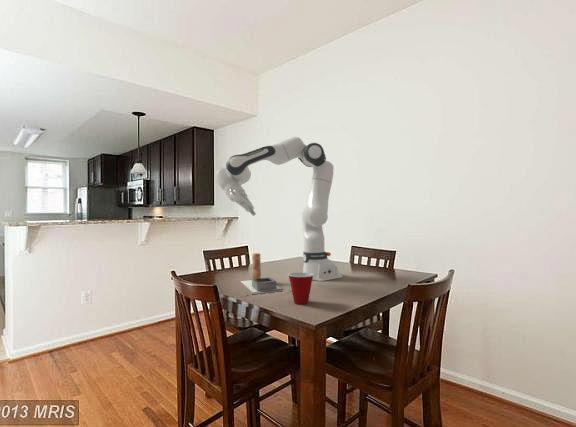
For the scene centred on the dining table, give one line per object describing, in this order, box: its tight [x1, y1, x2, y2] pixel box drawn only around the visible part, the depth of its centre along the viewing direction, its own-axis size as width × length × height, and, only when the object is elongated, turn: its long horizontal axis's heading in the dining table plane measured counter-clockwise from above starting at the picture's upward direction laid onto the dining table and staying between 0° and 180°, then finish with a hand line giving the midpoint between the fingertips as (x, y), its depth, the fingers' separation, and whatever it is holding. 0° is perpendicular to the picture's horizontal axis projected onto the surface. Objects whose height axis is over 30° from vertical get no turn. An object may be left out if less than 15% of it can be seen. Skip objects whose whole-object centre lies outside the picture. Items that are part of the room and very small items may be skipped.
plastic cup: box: [287, 271, 314, 305], centre depth 134 cm, size 11×11×12 cm
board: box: [240, 276, 283, 296], centre depth 157 cm, size 14×22×5 cm, turn 22°
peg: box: [251, 253, 262, 279], centre depth 163 cm, size 4×4×14 cm
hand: (251, 212), depth 166 cm, fingers open, 8 cm apart
